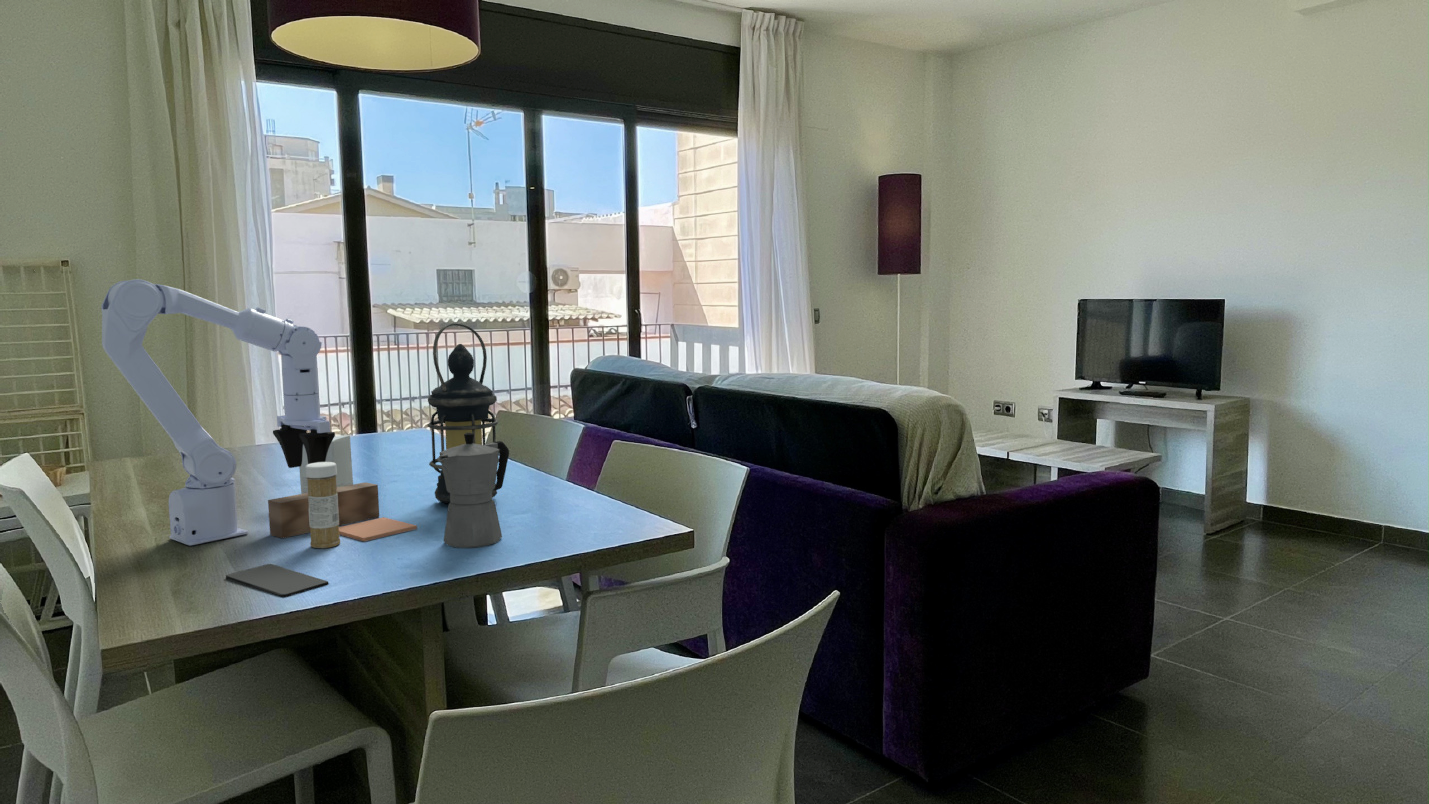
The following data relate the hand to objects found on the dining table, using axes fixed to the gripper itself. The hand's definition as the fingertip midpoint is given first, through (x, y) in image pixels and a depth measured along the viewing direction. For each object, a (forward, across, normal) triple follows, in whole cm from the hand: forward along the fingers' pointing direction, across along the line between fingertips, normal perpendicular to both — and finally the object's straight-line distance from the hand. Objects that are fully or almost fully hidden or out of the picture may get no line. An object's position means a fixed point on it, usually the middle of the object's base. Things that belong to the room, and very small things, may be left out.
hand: (305, 469), depth 159 cm
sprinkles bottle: (+10, -18, +7) cm, 22 cm away
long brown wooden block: (+9, -6, 0) cm, 11 cm away
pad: (+9, -16, -3) cm, 19 cm away
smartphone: (+10, -30, +21) cm, 38 cm away
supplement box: (+10, +13, -11) cm, 20 cm away
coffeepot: (+10, -35, -10) cm, 38 cm away
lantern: (+10, -11, -26) cm, 30 cm away
